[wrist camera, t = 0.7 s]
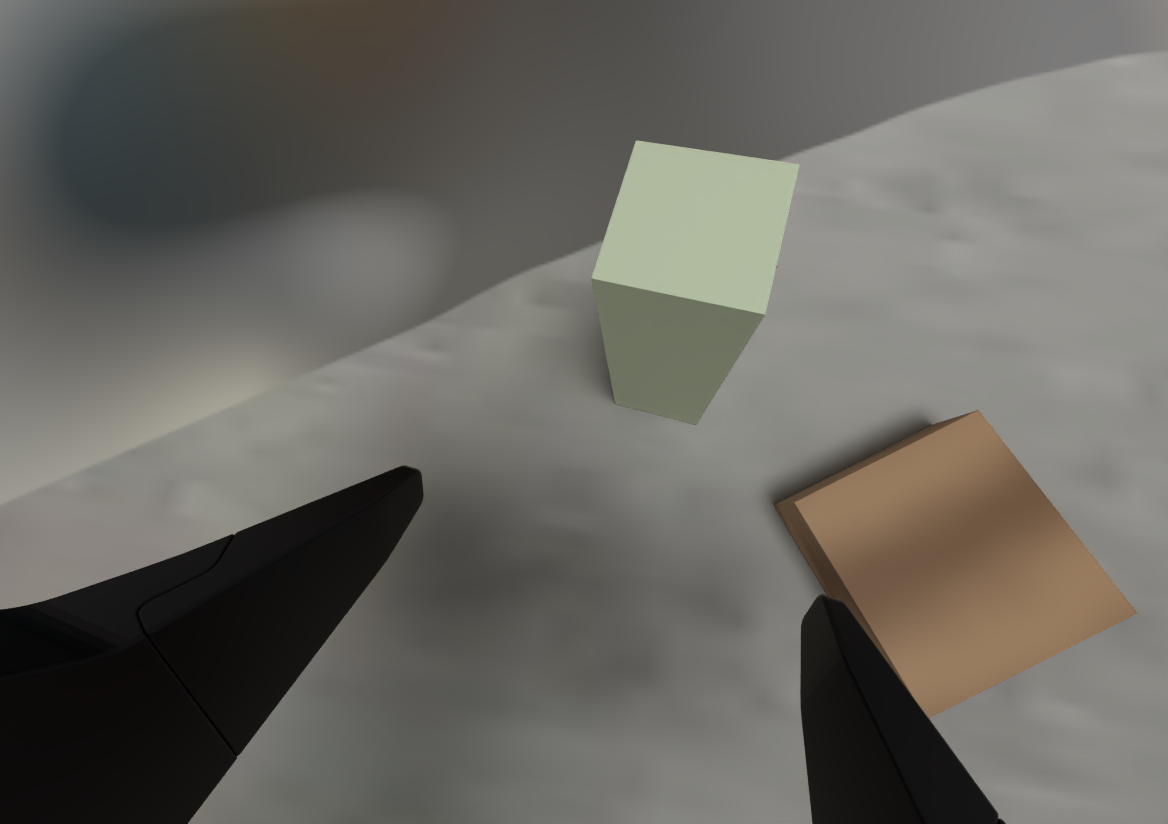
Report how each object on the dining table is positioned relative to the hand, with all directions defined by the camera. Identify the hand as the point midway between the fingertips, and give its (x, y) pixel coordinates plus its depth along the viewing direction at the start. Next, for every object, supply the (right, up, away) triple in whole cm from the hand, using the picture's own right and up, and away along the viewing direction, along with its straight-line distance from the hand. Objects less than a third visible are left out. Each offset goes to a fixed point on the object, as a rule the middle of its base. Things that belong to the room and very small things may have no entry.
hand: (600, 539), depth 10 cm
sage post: (+4, +5, +15) cm, 16 cm away
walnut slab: (+15, -4, +11) cm, 19 cm away
